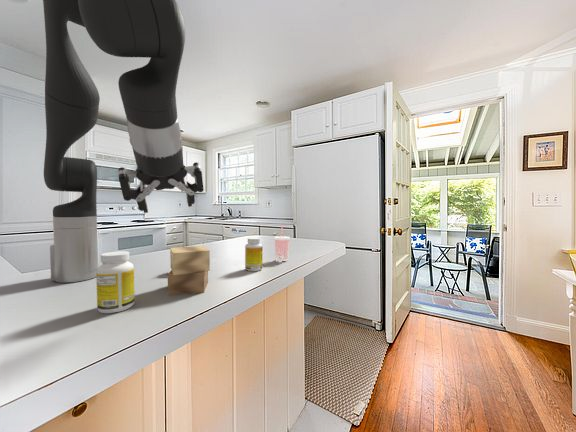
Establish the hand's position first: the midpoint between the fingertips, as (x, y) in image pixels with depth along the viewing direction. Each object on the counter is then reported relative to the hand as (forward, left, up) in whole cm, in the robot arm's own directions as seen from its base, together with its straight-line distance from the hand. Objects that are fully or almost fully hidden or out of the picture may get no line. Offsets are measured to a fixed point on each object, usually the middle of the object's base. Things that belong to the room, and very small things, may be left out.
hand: (168, 206), depth 53 cm
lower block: (+1, +8, -21) cm, 22 cm away
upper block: (+1, +8, -16) cm, 18 cm away
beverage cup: (+24, +39, -21) cm, 50 cm away
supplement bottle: (+15, +26, -21) cm, 37 cm away
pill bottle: (-9, -4, -21) cm, 23 cm away
